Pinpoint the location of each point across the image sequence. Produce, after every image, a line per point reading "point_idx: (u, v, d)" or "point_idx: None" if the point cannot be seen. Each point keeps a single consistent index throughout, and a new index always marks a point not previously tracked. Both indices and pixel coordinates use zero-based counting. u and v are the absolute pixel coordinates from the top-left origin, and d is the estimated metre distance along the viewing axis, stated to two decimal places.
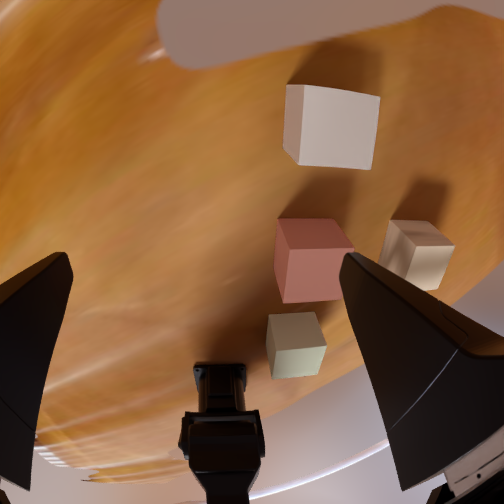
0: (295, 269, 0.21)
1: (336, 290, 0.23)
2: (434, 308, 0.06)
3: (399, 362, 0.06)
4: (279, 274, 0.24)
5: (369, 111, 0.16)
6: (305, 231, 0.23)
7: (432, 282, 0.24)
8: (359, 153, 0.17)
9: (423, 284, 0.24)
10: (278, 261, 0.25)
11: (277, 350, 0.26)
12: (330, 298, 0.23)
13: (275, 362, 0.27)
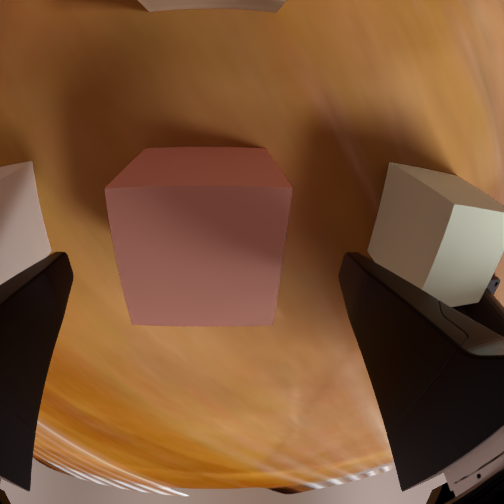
0: (177, 313, 0.09)
1: (251, 210, 0.08)
2: (434, 308, 0.06)
3: (399, 362, 0.06)
4: None
5: None
6: None
7: None
8: None
9: None
10: None
11: None
12: (281, 222, 0.08)
13: None
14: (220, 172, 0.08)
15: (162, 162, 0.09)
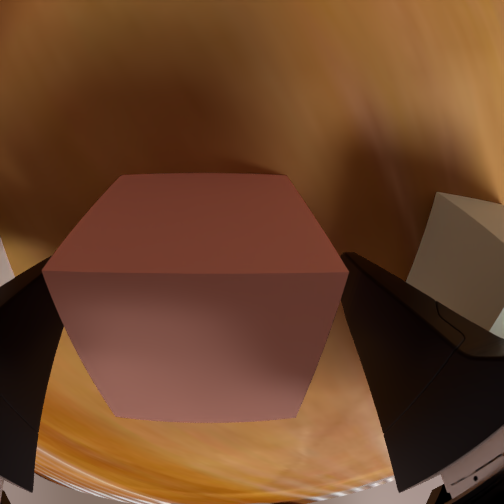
0: (171, 412, 0.06)
1: (279, 307, 0.05)
2: (431, 309, 0.06)
3: (396, 363, 0.06)
4: None
5: None
6: None
7: None
8: None
9: None
10: None
11: None
12: (324, 319, 0.05)
13: None
14: (227, 233, 0.05)
15: (137, 206, 0.06)
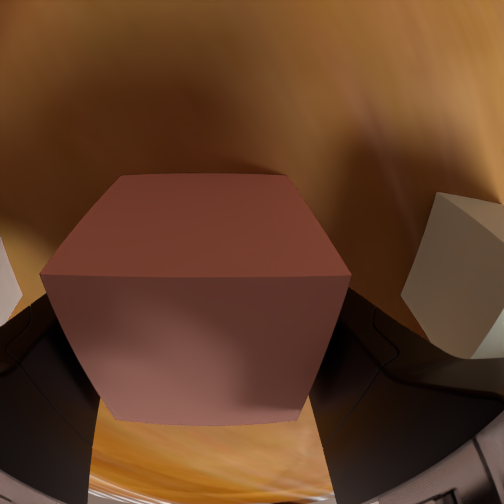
0: (172, 415, 0.06)
1: (281, 310, 0.05)
2: (365, 317, 0.05)
3: (328, 374, 0.06)
4: None
5: None
6: None
7: None
8: None
9: None
10: None
11: None
12: (326, 322, 0.05)
13: None
14: (228, 237, 0.05)
15: (136, 208, 0.06)
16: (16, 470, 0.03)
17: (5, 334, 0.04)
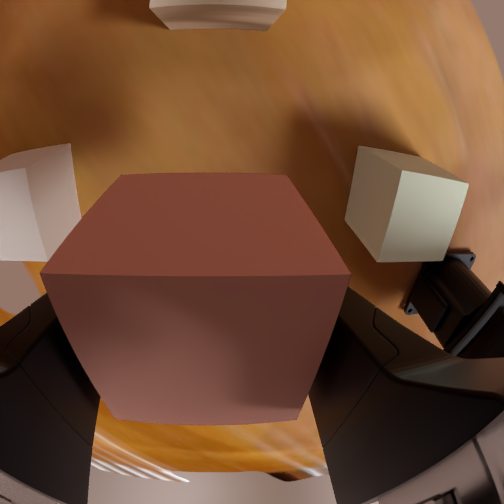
0: (171, 414, 0.06)
1: (280, 309, 0.05)
2: (365, 317, 0.05)
3: (328, 374, 0.06)
4: None
5: None
6: None
7: None
8: (14, 190, 0.10)
9: None
10: None
11: (377, 259, 0.14)
12: (325, 321, 0.05)
13: (405, 260, 0.15)
14: (227, 235, 0.05)
15: (136, 207, 0.06)
16: (16, 470, 0.03)
17: (5, 334, 0.04)
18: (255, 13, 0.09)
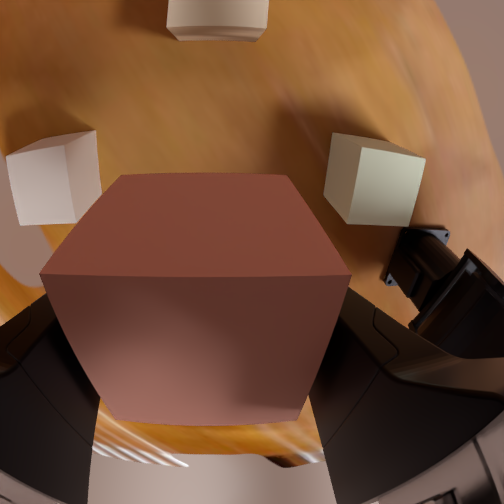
0: (172, 415, 0.06)
1: (281, 310, 0.05)
2: (365, 316, 0.05)
3: (328, 374, 0.06)
4: None
5: (18, 163, 0.13)
6: None
7: None
8: (52, 163, 0.14)
9: None
10: None
11: (347, 221, 0.18)
12: (326, 322, 0.05)
13: (372, 223, 0.18)
14: (227, 236, 0.05)
15: (136, 207, 0.06)
16: (16, 470, 0.03)
17: (5, 334, 0.04)
18: (245, 31, 0.12)
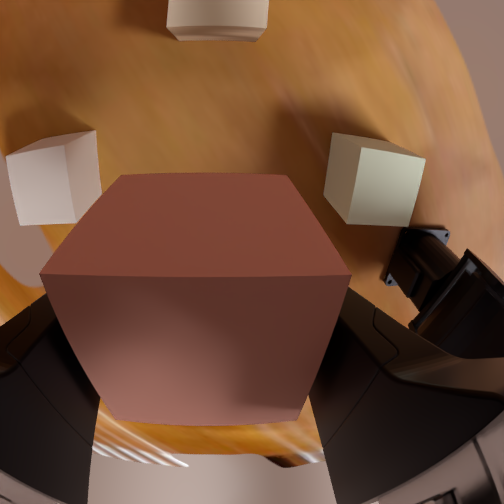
0: (172, 415, 0.06)
1: (281, 310, 0.05)
2: (365, 316, 0.05)
3: (328, 374, 0.06)
4: None
5: (18, 163, 0.13)
6: None
7: None
8: (52, 163, 0.14)
9: None
10: None
11: (347, 221, 0.18)
12: (326, 322, 0.05)
13: (372, 223, 0.18)
14: (227, 236, 0.05)
15: (136, 207, 0.06)
16: (16, 470, 0.03)
17: (5, 334, 0.04)
18: (245, 31, 0.12)
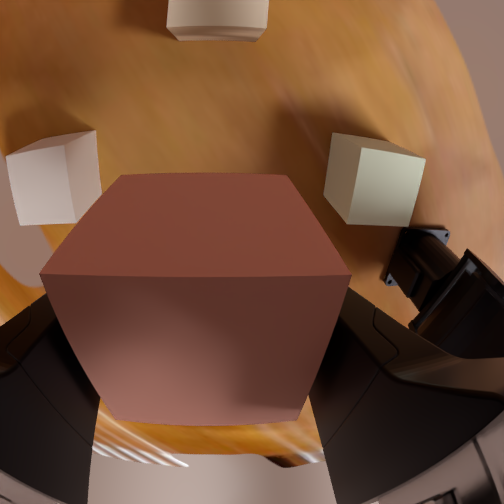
0: (172, 415, 0.06)
1: (281, 310, 0.05)
2: (365, 316, 0.05)
3: (328, 374, 0.06)
4: None
5: (18, 163, 0.13)
6: None
7: None
8: (52, 163, 0.14)
9: None
10: None
11: (347, 221, 0.18)
12: (326, 322, 0.05)
13: (372, 223, 0.18)
14: (227, 236, 0.05)
15: (136, 207, 0.06)
16: (16, 470, 0.03)
17: (5, 334, 0.04)
18: (245, 31, 0.12)
